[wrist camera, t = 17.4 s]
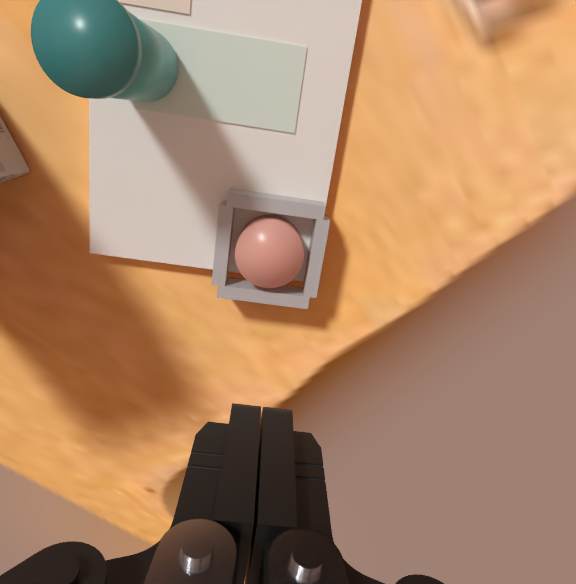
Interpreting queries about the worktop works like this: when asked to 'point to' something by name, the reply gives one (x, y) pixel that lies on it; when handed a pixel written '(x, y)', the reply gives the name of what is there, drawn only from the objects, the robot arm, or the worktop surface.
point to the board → (226, 138)
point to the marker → (102, 51)
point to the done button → (269, 251)
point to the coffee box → (10, 156)
